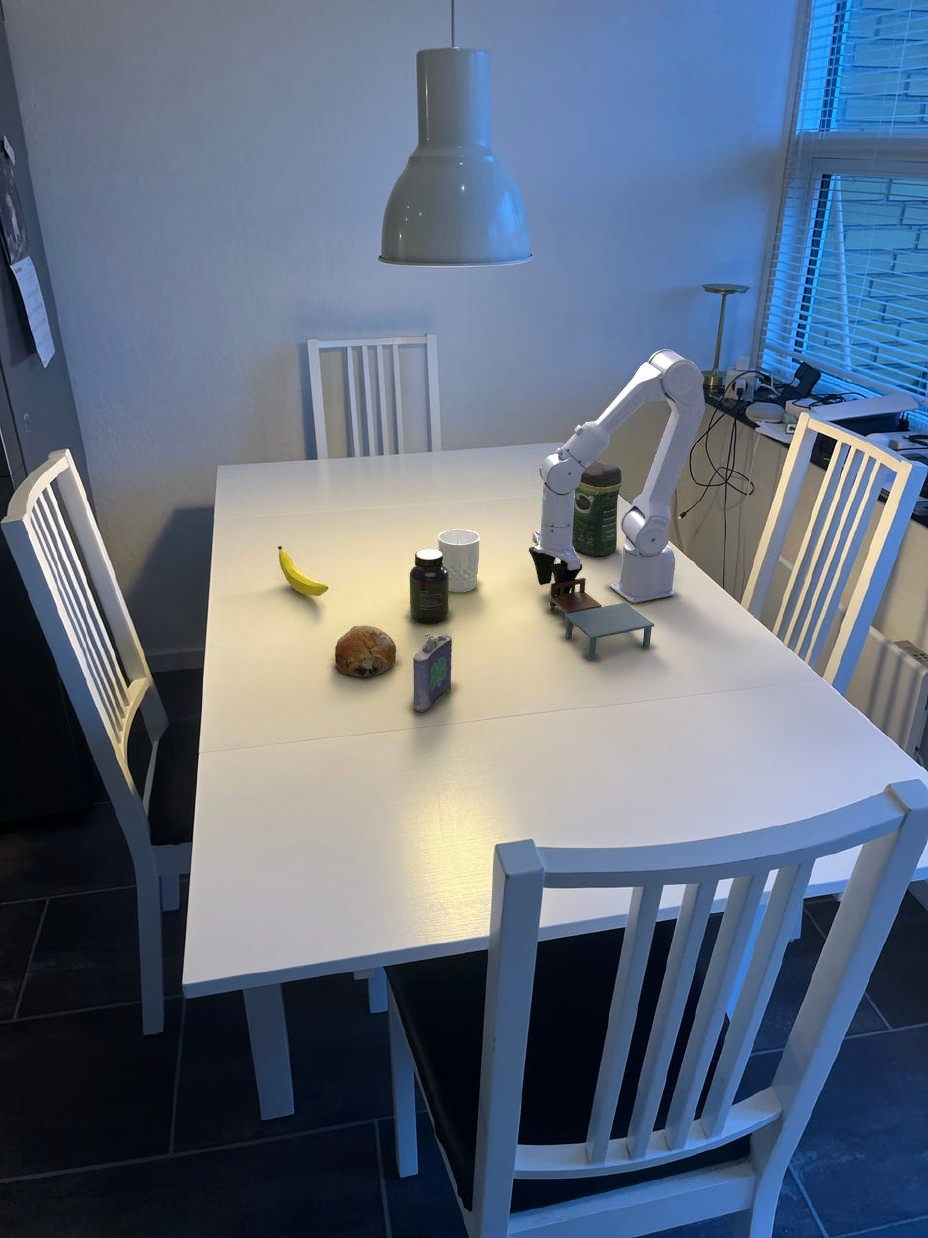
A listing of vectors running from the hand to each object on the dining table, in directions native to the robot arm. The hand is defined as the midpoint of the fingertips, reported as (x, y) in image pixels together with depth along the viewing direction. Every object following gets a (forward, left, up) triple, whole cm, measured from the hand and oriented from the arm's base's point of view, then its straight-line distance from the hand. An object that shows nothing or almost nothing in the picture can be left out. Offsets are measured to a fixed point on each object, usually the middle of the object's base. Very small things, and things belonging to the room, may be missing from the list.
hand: (553, 590), depth 177 cm
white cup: (+14, -12, -2) cm, 18 cm away
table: (0, +19, -1) cm, 19 cm away
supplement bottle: (+24, -2, -2) cm, 24 cm away
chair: (0, +8, -1) cm, 8 cm away
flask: (+34, +24, -2) cm, 42 cm away
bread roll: (+40, +10, -2) cm, 41 cm away
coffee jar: (-19, -18, -2) cm, 26 cm away
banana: (+42, -20, -2) cm, 46 cm away
